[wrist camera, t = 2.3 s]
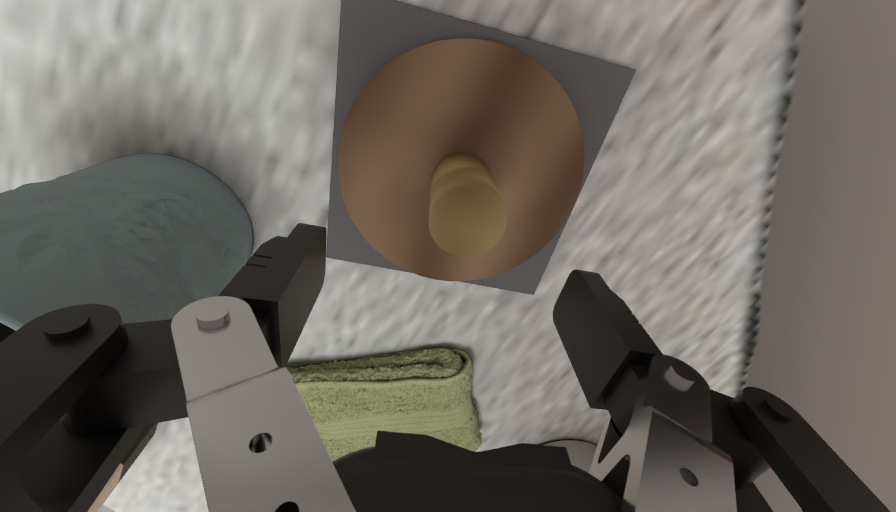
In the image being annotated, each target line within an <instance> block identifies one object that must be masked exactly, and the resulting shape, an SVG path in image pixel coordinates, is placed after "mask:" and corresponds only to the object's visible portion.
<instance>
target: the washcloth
mask: <svg viewBox="0 0 896 512" xmlns="http://www.w3.org/2000/svg"><path fill="white" fill-rule="evenodd" d="M286 368H287V370H288V371H289V373H290V375H291V377H292V379H293V381H294V383H295V385H296V387H297V390H298V392H299V394H300V396H301V398H302V400H303V402H304V404H305V406H306V408H307V410H308V413H309V415H310V417H311V419H312V421H313V423H314V425H315V427H316V429H317V431H318V433H319V435H320V438H321V440H322V442H323V444H324V446H325V448H326V450H327V452H328V454H329V456H330V458H331V461H332V462H333V461H335V460H336V459H338V458H340V457H342V456H344V455H347V454H349V453H351V452H354V451H357V450H360V449H363V448H368V447H373V446H375V441H376V436H377V431H389V432H400V433H411V434H423V435H428V436H431V437H434V438H437V439H440V440H442V441H445V442H448V443H451V444H454V445H457V446H459V447H462V448H465V449H468V450H471V451H476V450H477V449H478V448H479V447H480V445H481V443H482V441H481V440H482V437H481V435H482V434H481V432H480V431H479V430H480V429H479V424H478V420H477V412H476V410H477V409H475V407H474V406H473V404H472V400H471V392H472V387H473V386H472V381H473V380H472V378H473V376H472V372H473V366H472V361H471V359H470V357H469V356H468V354H466V353H465V352H463V351H461V350H457V349H444V348H442V349H441V348H435V349H434V348H433V349H425V350H421V351H406V352H398V353H396V354H393V355H389V354H381V355H373V356H369V357H365V358H360V359H356V360H347V361H340V362H337V360H335V361H334V362H333V363H332V362H329V363H322V364H321V365H312V364H310V365H306V366H305V367H301V366H300V367H299V368H293V367H286Z"/></svg>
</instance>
